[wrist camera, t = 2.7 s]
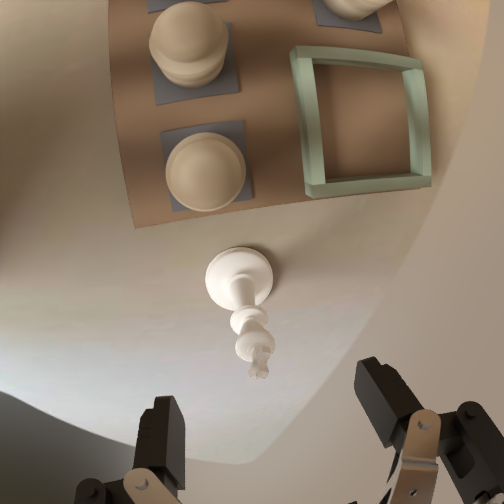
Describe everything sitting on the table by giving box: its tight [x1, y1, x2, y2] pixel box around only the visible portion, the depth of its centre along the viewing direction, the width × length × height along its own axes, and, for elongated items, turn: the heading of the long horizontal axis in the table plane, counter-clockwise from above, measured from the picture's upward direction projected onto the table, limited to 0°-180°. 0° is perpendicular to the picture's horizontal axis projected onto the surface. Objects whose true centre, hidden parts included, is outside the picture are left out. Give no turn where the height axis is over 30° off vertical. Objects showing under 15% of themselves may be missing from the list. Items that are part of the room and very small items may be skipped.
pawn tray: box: [108, 0, 431, 229], centre depth 13 cm, size 19×20×8 cm
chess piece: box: [206, 247, 275, 378], centre depth 17 cm, size 5×5×10 cm
